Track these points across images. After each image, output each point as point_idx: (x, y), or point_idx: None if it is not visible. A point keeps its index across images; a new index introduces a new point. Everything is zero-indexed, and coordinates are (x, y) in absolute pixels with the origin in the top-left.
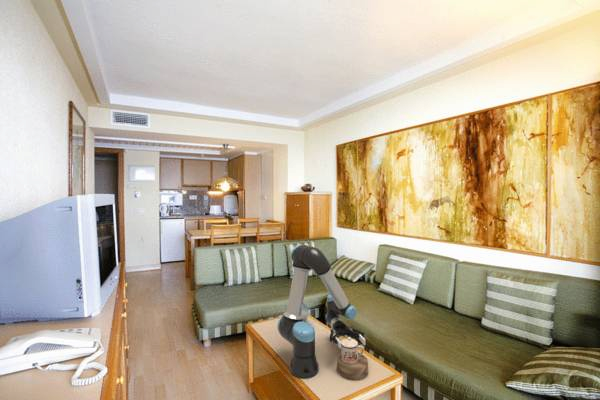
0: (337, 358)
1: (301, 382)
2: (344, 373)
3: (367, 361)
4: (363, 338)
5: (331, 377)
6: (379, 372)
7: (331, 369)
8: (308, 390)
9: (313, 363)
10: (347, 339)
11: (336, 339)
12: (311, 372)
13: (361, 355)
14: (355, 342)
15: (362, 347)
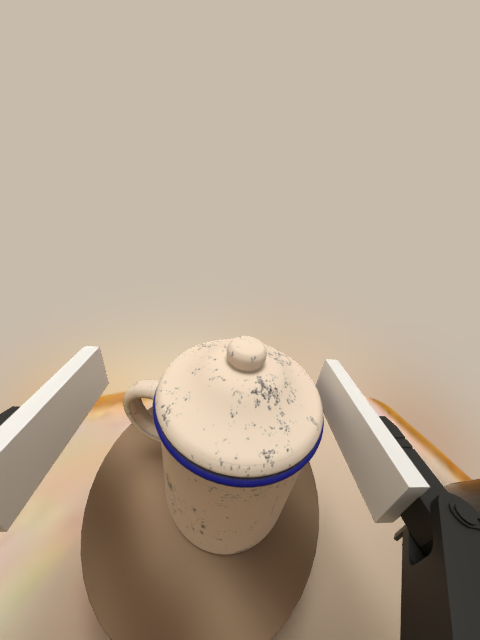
0: (314, 522)
1: (458, 468)
2: None
3: (131, 426)
4: (71, 366)
5: (328, 470)
6: (84, 448)
7: (337, 563)
8: (400, 417)
9: (475, 492)
10: (262, 367)
11: (390, 445)
12: (447, 485)
13: (100, 518)
14: (195, 353)
15: (139, 381)
